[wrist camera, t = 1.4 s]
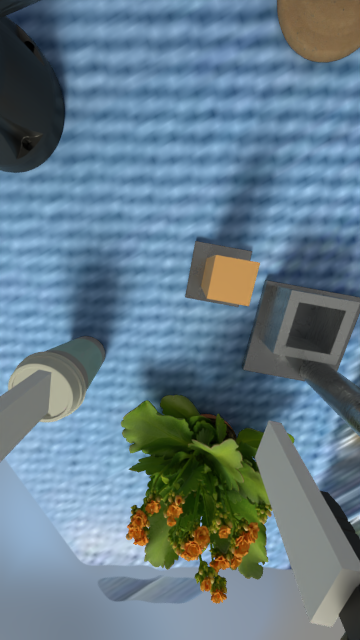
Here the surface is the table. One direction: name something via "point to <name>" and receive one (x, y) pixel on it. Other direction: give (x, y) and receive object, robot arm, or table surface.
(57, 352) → the coffee cup
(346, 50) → the candle holder
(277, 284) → the grey post stand
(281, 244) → the table surface
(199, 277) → the plate
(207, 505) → the potted flower
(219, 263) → the tan rectangular bar
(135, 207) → the table surface
